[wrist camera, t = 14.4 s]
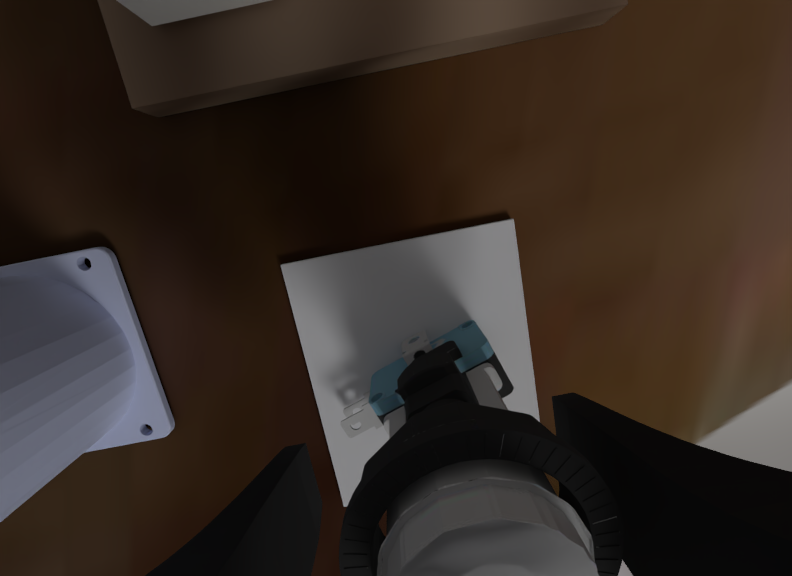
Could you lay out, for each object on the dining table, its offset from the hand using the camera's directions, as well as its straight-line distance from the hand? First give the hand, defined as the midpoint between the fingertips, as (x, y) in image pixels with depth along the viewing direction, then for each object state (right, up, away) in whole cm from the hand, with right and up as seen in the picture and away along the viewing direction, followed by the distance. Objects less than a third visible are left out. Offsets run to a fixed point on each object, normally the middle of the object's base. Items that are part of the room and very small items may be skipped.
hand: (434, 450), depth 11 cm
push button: (0, +1, +5) cm, 5 cm away
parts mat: (0, +1, +5) cm, 5 cm away
